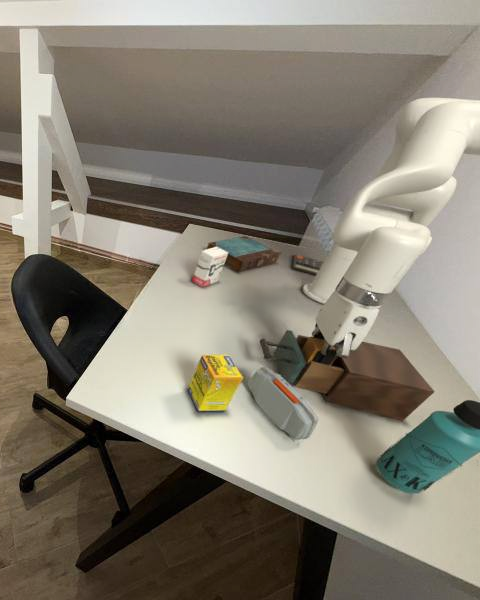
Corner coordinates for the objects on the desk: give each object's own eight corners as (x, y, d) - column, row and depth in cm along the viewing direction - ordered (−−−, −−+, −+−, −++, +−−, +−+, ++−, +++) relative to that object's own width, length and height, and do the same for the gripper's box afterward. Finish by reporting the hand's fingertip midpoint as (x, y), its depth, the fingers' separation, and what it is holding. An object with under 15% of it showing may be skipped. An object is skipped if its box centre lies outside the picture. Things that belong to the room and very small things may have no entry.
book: (238, 273, 117) (243, 261, 114) (203, 253, 130) (207, 242, 127) (276, 263, 126) (281, 252, 124) (240, 246, 139) (244, 235, 136)
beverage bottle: (367, 454, 58) (446, 383, 47) (413, 476, 56) (508, 406, 44) (370, 483, 54) (458, 412, 43) (420, 509, 51) (528, 440, 40)
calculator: (326, 262, 129) (327, 276, 118) (325, 264, 129) (326, 278, 119) (295, 253, 134) (293, 266, 123) (294, 255, 134) (292, 268, 123)
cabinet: (325, 402, 68) (350, 371, 63) (308, 362, 78) (328, 334, 73) (402, 421, 65) (435, 391, 60) (374, 378, 76) (399, 349, 70)
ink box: (202, 287, 106) (213, 256, 99) (191, 281, 109) (200, 250, 103) (218, 282, 110) (229, 251, 103) (206, 275, 113) (216, 246, 107)
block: (300, 350, 73) (309, 336, 70) (321, 355, 72) (331, 341, 69) (306, 363, 69) (315, 349, 67) (328, 368, 68) (338, 354, 66)
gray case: (305, 443, 59) (327, 418, 55) (293, 447, 59) (314, 421, 54) (251, 385, 71) (266, 360, 66) (241, 387, 70) (255, 362, 65)
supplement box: (186, 390, 68) (201, 354, 62) (212, 389, 69) (229, 354, 63) (197, 413, 63) (213, 377, 57) (224, 413, 64) (244, 376, 58)
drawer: (257, 379, 71) (272, 355, 67) (250, 347, 80) (262, 324, 76) (351, 403, 67) (372, 379, 63) (332, 367, 77) (349, 343, 72)
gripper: (407, 320, 53) (348, 391, 63) (363, 275, 66) (320, 339, 77) (358, 310, 54) (307, 381, 64) (324, 268, 68) (287, 332, 78)
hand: (314, 358), depth 70 cm, fingers closed on block, 4 cm apart
